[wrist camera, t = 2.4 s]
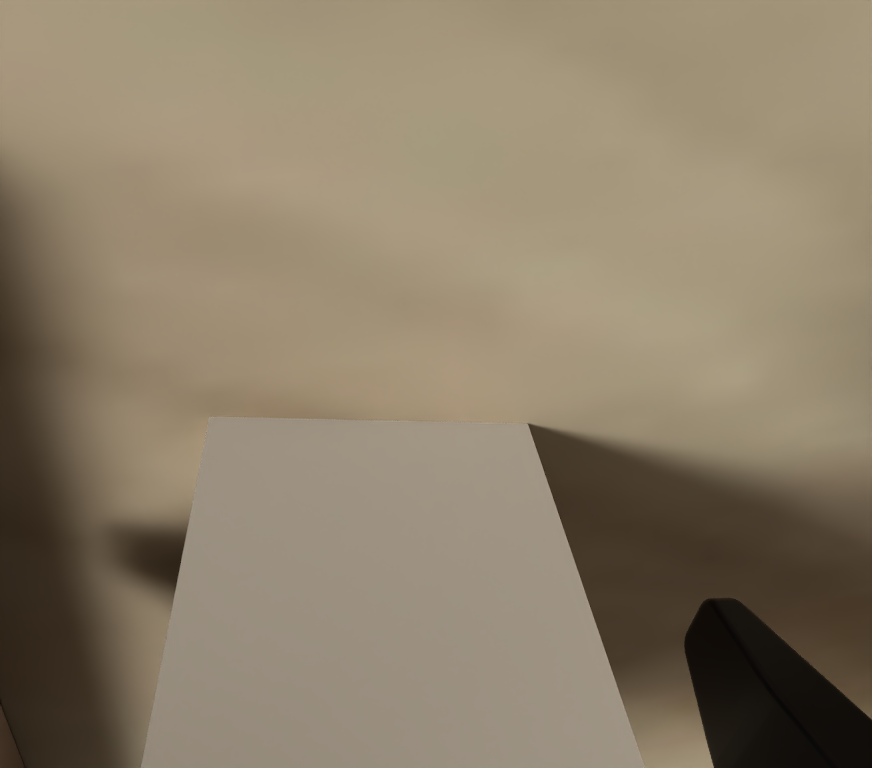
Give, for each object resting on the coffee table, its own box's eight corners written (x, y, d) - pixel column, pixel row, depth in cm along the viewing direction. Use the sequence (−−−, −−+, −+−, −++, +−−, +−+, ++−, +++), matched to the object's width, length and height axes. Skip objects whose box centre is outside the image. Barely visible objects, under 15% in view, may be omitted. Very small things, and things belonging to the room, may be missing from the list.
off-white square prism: (474, 632, 12) (568, 1140, 8) (224, 640, 12) (154, 1201, 7) (527, 423, 10) (723, 996, 5) (210, 415, 9) (80, 1072, 4)
